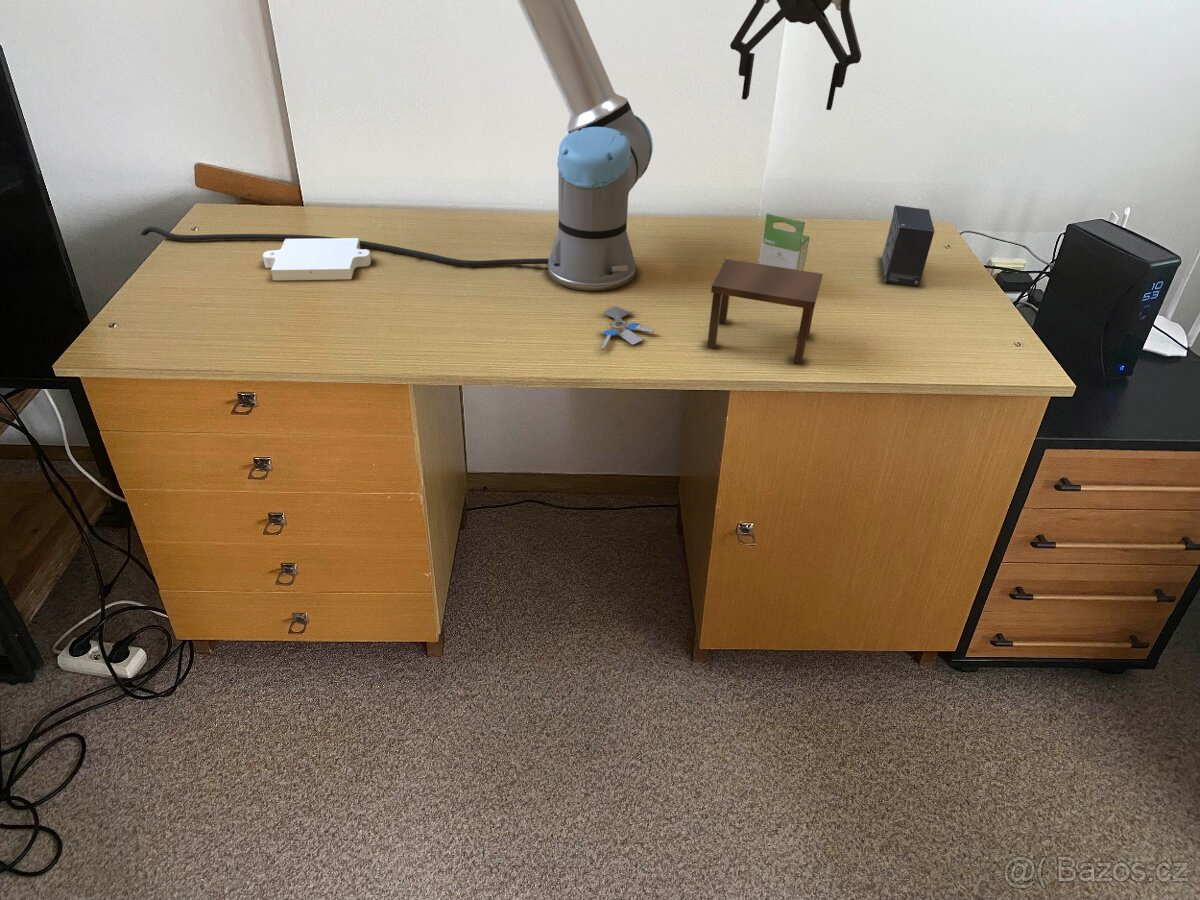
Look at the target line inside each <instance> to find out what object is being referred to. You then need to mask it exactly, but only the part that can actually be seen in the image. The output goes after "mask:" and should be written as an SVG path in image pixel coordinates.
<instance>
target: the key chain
mask: <svg viewBox="0 0 1200 900" xmlns="http://www.w3.org/2000/svg"><path fill="white" fill-rule="evenodd" d="M629 314H631V312H630V311H629V310H626V309H623V308H621V307H619V306H612V307H610V308H609V309H607V310H605V311H604V312H602V315H605V316H607V317H610V318H612V319H613V320H614V322H612V323H609V324H608V326H607V327H608V329H606V330H604V331H602V335H603V336H606V337H605V339H604V341H603V343H602V346H601V350H604V349H605V348H606V347H607V346H608V343H609V341H610V340H611V337H616V336H617V335H618V336H619V337H620V338H622V339H624V340H625V341H626V342H628V343H629V344H631V345H632V346H634V345H636V344H637V343H640V342H642V341H643V340H644V339H643V338H642V337H640V336H639V335H637V334H636V333H634V331H641V332H646V333H649V334H653V333H655V330H656V329H652V328H649V327H645V326H641V323H639V322H630V323H628V322H626V321H624V320H623V318H624V317H626V316H627V315H629ZM611 325H612V326H613V328H615V329H611V327H610V326H611ZM618 329H619V330H622V331H619V330H618Z"/></svg>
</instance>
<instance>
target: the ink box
mask: <svg viewBox="0 0 1200 900" xmlns="http://www.w3.org/2000/svg"><path fill="white" fill-rule="evenodd" d="M777 223H780V224H781V223H785V224H786V225H789V226H791V227H793V228H794V230H789V229H784V228H780V227H776V226H774V224H777ZM805 224H806V221H803V220H798V219H795V218H789V217H785V216H782V215H781V216H780V215H776V214H771V213H765V220H764V228H763V229H764V230H763V233H762V237H761V244H760V251H759V257H758V263H757V264H763V265H769V266H775V267H782V268H788V269H795V270H801V271H805V270H804V269H805V264H806V259H807V254H808V248H809V244H810V238H811V237H810V236H809V235H805V234H804V232H805V231H804V230H805V226H806V225H805Z"/></svg>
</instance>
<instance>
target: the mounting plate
mask: <svg viewBox="0 0 1200 900" xmlns="http://www.w3.org/2000/svg"><path fill="white" fill-rule="evenodd" d="M359 240H360V238H359V237H336V238H318V239H285V240H283V243H282V245H281V248H279V249H274V250H273V249H272V250H266V251H264V253H262V259H263V264H264V267H265V268H266V269H270V273H271V277H272V281H327V280H328V281H329V280H331V281H333V280H338V281H339V280H352V278H353V275H354V271H355V269H356V268H361V267H362V268H364V267H369V266H371V262H372V259H371V252H370V250H369V249H366V248H365V249H364V248H363V249H361V246H360V241H361V240H360V241H359Z"/></svg>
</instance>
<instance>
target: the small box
mask: <svg viewBox="0 0 1200 900" xmlns="http://www.w3.org/2000/svg"><path fill="white" fill-rule="evenodd" d="M935 231H936V230H935V227H934V223H933V220H932V216H931V211H930V209H927V208H919V207H911V206H904V205H897V204H895V205H894V207H893V212H892V216H891V221H890V225H889V228H888V233H887V237H886V242H885V244H884V247H883V250H882V251H883V252H882V255H881V258H880V259H881V269H882V277H883V282H884V283H890V284H896V285H897V284H899V285H906V286H915V287H919V286H920V285H921V284H920V283H921V280H922V277H923V274H924V270H925V267H926V263H927V259H928V256H929V253H930V249H931V245H932V241H933V237H934V234H935Z"/></svg>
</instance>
